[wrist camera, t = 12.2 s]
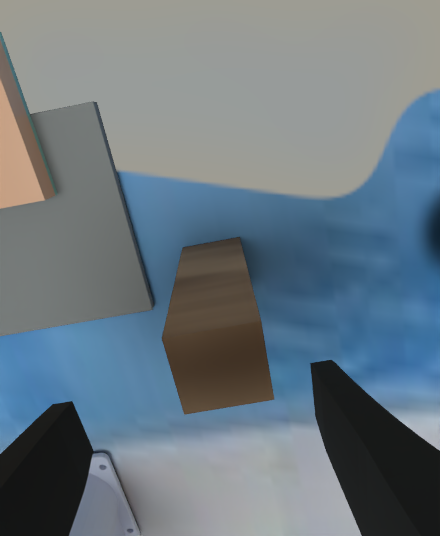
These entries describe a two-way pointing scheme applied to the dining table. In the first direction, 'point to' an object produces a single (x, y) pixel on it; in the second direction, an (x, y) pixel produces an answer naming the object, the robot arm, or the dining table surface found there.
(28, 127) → the tile
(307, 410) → the dining table surface
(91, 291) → the mat
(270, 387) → the peg
